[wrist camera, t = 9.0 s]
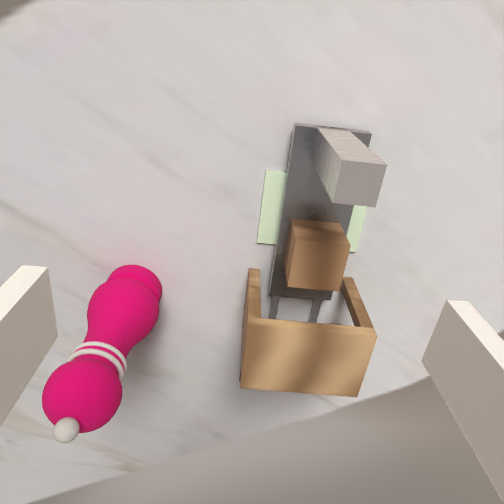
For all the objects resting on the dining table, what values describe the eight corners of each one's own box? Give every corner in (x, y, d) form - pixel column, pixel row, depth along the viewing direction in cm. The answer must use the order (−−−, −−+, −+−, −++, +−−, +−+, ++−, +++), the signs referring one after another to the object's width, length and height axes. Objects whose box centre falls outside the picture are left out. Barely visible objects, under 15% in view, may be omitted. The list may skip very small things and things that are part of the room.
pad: (256, 241, 43) (256, 242, 42) (265, 170, 39) (265, 171, 39) (355, 250, 43) (355, 252, 43) (373, 181, 39) (374, 182, 39)
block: (283, 261, 42) (287, 286, 37) (291, 218, 39) (295, 240, 35) (329, 265, 42) (338, 291, 37) (339, 223, 39) (350, 245, 35)
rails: (258, 383, 53) (258, 386, 52) (295, 148, 38) (295, 149, 37) (300, 386, 53) (300, 389, 53) (353, 154, 38) (355, 155, 38)
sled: (268, 289, 45) (273, 366, 34) (294, 122, 36) (311, 156, 25) (328, 294, 45) (352, 373, 34) (368, 131, 36) (416, 168, 26)
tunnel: (242, 323, 48) (240, 388, 39) (249, 268, 44) (248, 325, 35) (337, 331, 49) (357, 397, 40) (352, 277, 45) (377, 336, 36)
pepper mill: (174, 305, 47) (127, 463, 29) (118, 316, 48) (40, 477, 30) (153, 254, 44) (85, 397, 26) (93, 267, 44) (-12, 415, 27)
